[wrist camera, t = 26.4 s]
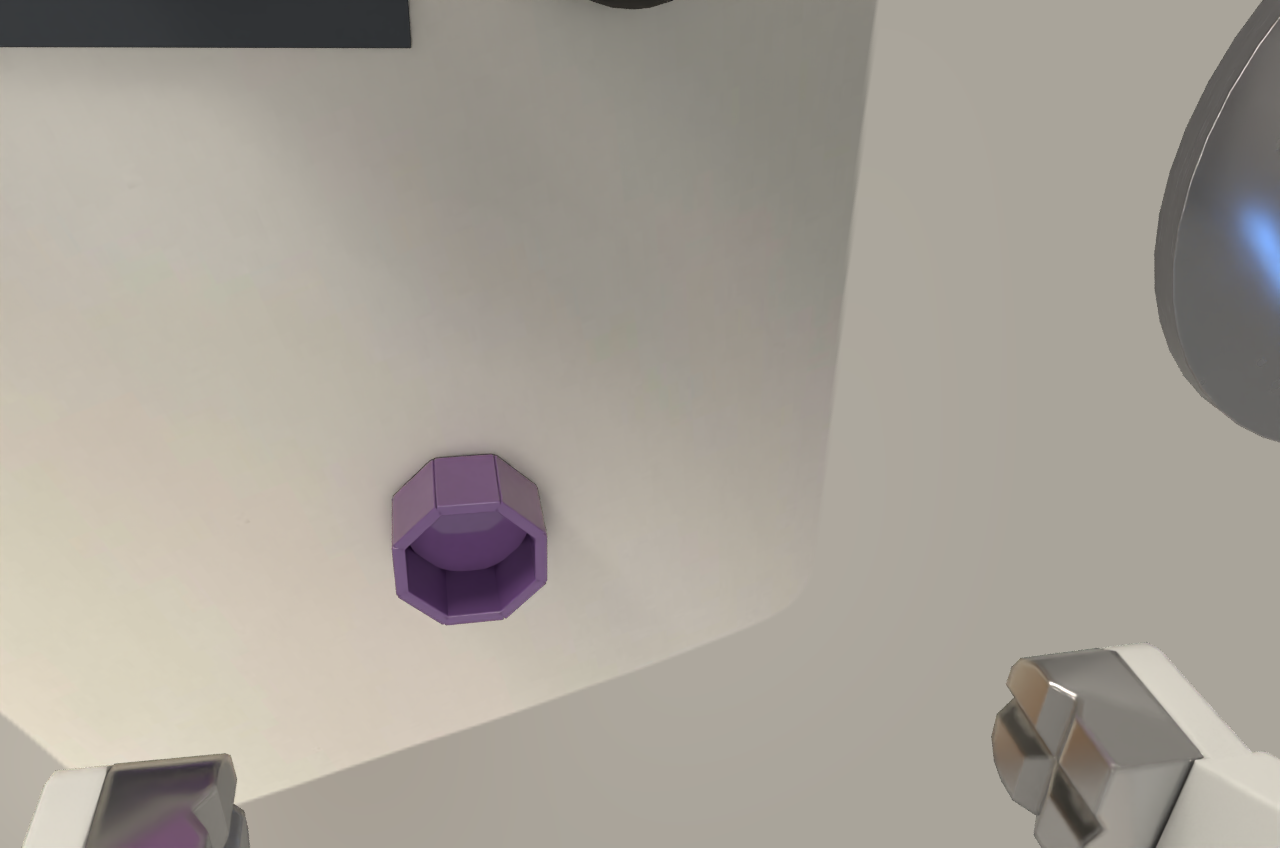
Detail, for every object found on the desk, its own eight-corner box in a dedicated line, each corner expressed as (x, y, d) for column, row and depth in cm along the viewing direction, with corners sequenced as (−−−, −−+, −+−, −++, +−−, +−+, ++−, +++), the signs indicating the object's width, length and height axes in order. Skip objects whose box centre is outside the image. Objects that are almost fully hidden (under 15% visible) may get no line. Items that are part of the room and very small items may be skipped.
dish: (537, 450, 43) (547, 497, 40) (538, 564, 46) (547, 615, 44) (388, 460, 42) (387, 509, 39) (399, 577, 45) (399, 630, 42)
